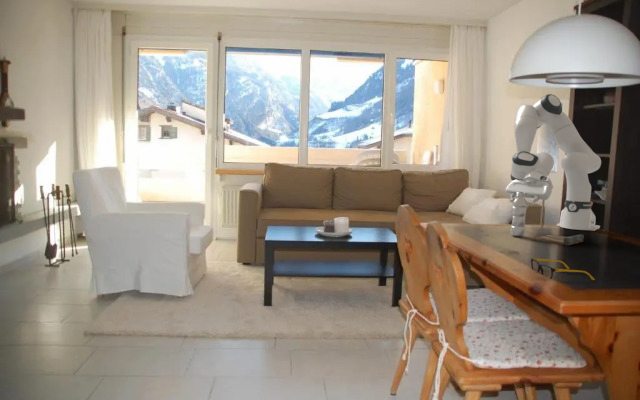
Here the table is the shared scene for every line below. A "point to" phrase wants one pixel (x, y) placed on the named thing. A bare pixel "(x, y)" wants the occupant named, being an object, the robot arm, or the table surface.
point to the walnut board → (561, 239)
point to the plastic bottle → (519, 215)
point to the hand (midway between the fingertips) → (520, 202)
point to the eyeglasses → (555, 269)
